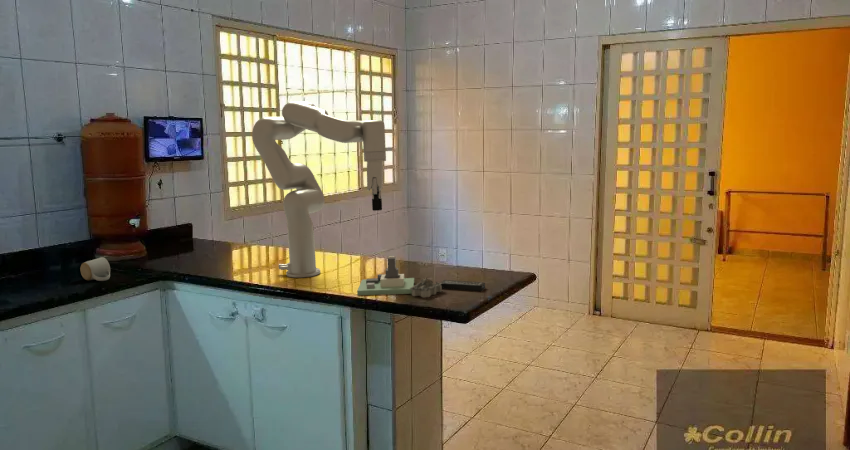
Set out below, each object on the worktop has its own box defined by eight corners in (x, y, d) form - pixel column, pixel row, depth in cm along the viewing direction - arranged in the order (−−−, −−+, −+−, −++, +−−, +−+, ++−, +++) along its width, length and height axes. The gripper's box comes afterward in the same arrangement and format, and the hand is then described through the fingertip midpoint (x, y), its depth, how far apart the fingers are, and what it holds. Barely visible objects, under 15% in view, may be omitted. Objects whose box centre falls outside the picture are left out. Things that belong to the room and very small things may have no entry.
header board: (357, 295, 201) (356, 283, 201) (362, 283, 216) (361, 272, 215) (413, 293, 201) (412, 281, 200) (414, 282, 216) (413, 270, 215)
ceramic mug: (79, 280, 236) (77, 260, 235) (100, 275, 243) (98, 256, 242) (95, 283, 231) (93, 263, 230) (116, 278, 238) (114, 258, 236)
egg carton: (427, 288, 208) (427, 276, 207) (445, 291, 203) (445, 279, 203) (407, 295, 199) (407, 283, 199) (426, 299, 195) (426, 286, 194)
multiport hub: (444, 286, 211) (444, 279, 210) (485, 289, 205) (485, 282, 205) (439, 289, 207) (439, 282, 206) (481, 292, 201) (481, 285, 201)
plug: (386, 285, 207) (385, 257, 205) (387, 282, 210) (385, 255, 209) (398, 285, 207) (397, 257, 205) (398, 282, 210) (397, 255, 208)
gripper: (366, 156, 220) (368, 207, 223) (361, 158, 205) (364, 213, 208) (387, 155, 220) (389, 207, 223) (384, 157, 205) (386, 212, 208)
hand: (377, 210), depth 215 cm, fingers closed
